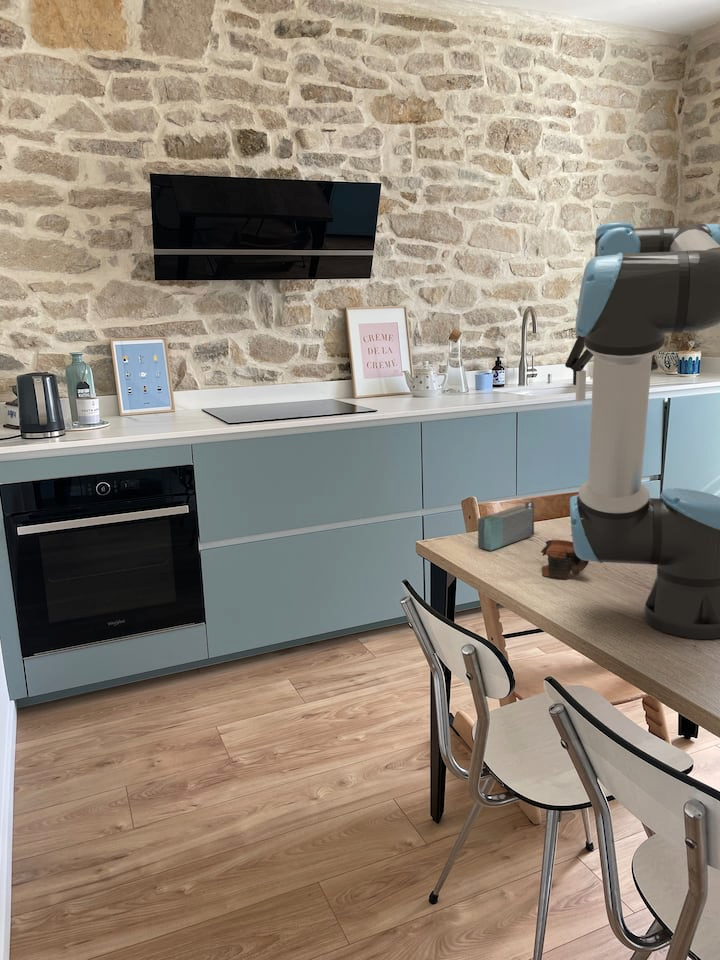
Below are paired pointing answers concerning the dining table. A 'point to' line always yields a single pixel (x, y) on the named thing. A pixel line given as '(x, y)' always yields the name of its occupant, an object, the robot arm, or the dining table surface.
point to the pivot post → (531, 505)
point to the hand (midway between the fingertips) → (608, 402)
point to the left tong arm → (481, 520)
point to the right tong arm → (507, 528)
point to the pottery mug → (561, 559)
